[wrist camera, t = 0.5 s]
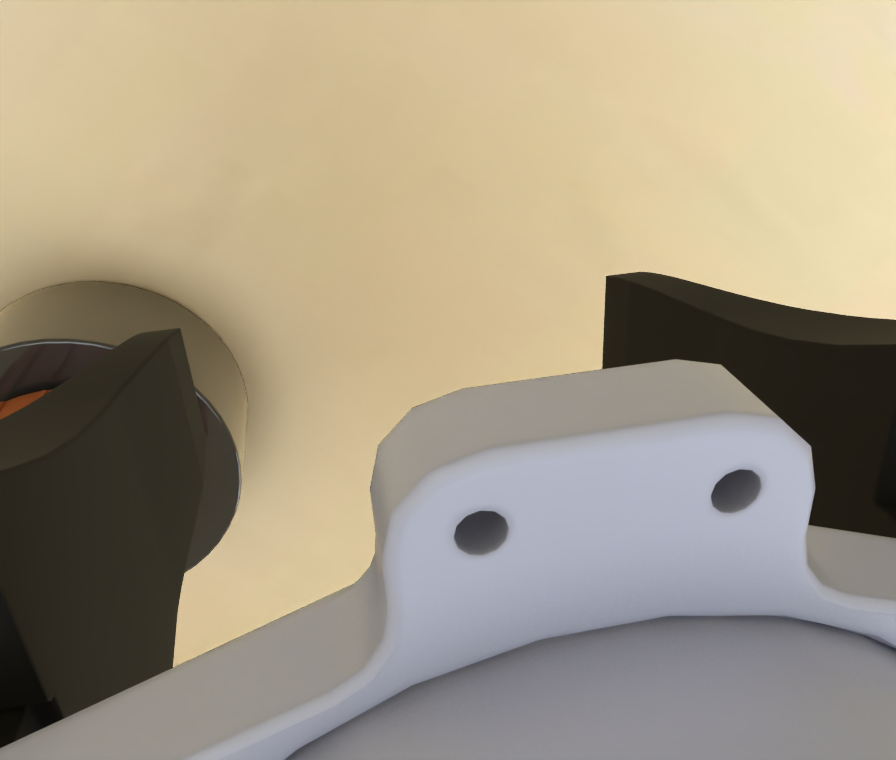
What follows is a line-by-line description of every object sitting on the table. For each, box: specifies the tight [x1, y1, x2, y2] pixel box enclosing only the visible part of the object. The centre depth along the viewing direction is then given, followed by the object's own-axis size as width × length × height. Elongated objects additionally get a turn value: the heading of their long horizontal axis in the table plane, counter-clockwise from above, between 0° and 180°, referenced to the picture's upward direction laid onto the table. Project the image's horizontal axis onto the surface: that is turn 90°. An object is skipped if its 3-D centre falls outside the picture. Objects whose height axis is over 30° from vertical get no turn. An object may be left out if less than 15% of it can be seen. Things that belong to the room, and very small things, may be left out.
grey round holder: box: [0, 282, 248, 572], centre depth 21 cm, size 8×8×7 cm
